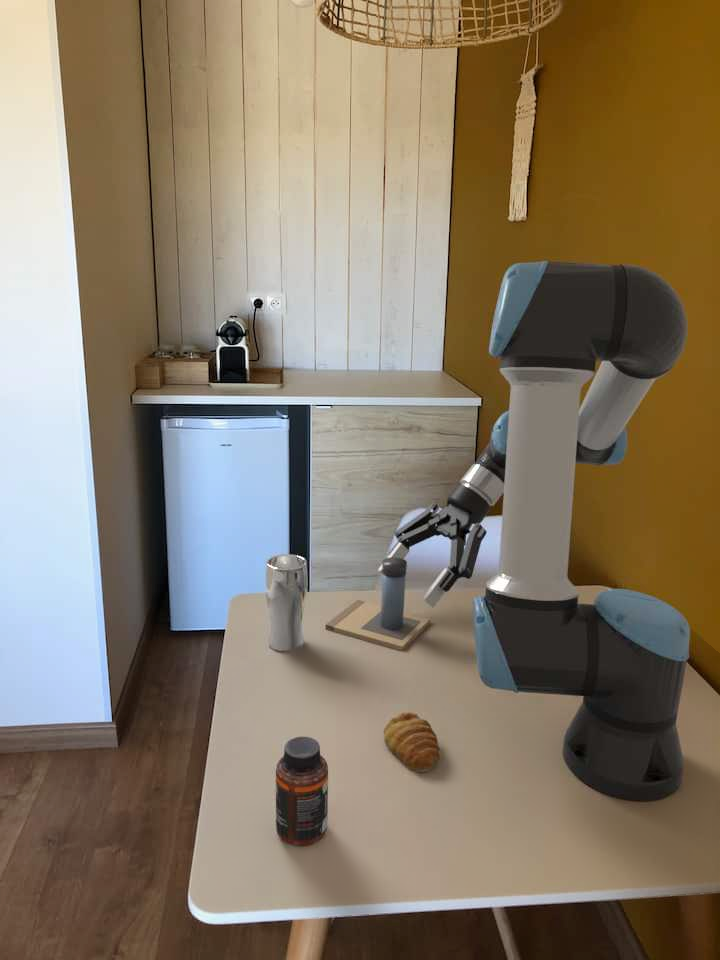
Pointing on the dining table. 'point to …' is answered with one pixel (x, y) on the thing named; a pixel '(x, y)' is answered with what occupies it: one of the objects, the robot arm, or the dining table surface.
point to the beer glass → (286, 600)
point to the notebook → (376, 625)
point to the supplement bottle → (301, 793)
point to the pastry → (412, 742)
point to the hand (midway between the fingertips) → (404, 588)
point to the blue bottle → (393, 593)
